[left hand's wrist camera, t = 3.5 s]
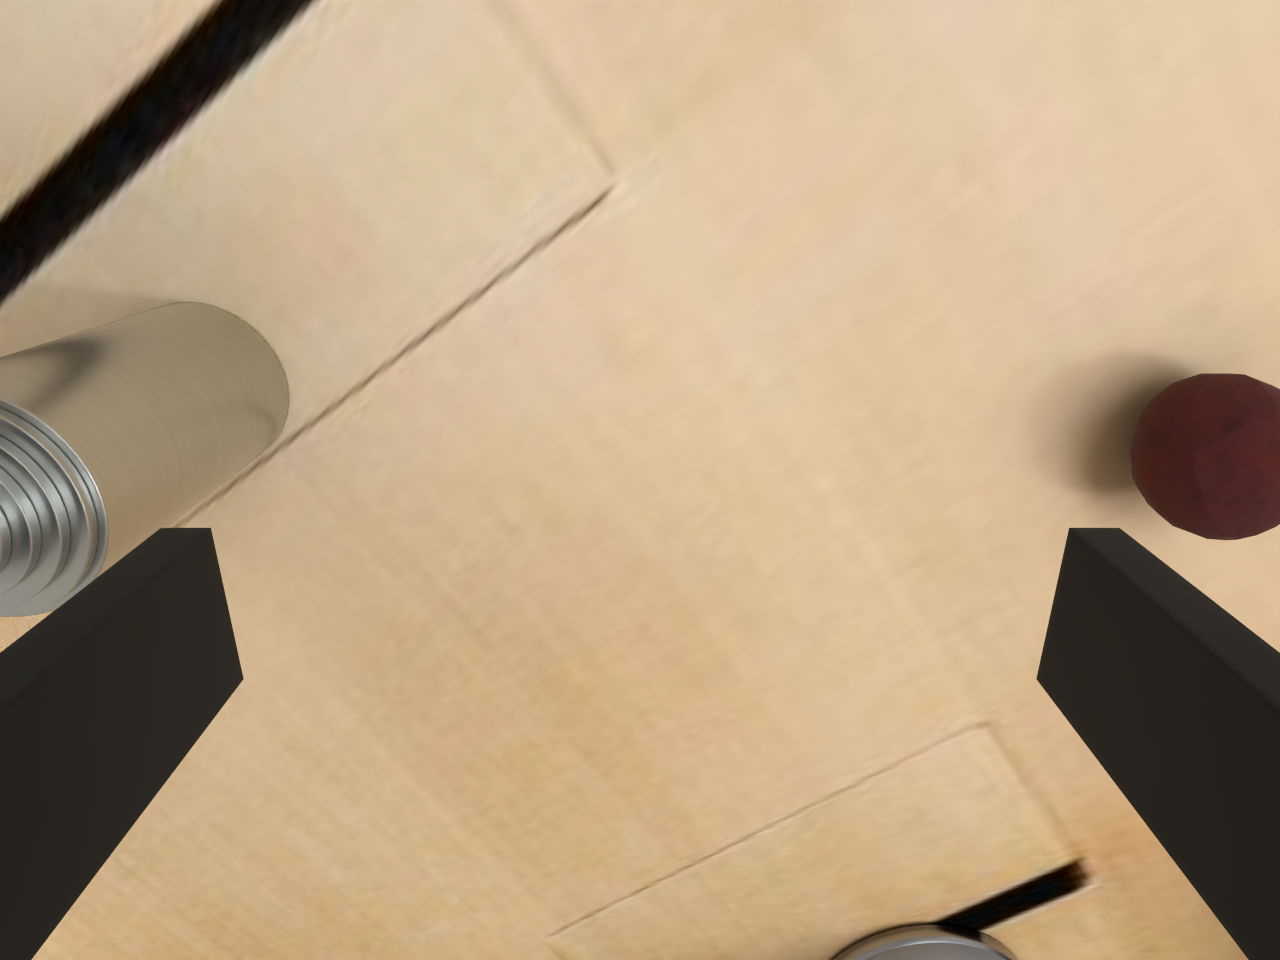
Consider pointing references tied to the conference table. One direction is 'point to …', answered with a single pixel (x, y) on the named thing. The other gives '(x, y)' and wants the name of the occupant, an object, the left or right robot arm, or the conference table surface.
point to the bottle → (123, 440)
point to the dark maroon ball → (1212, 455)
